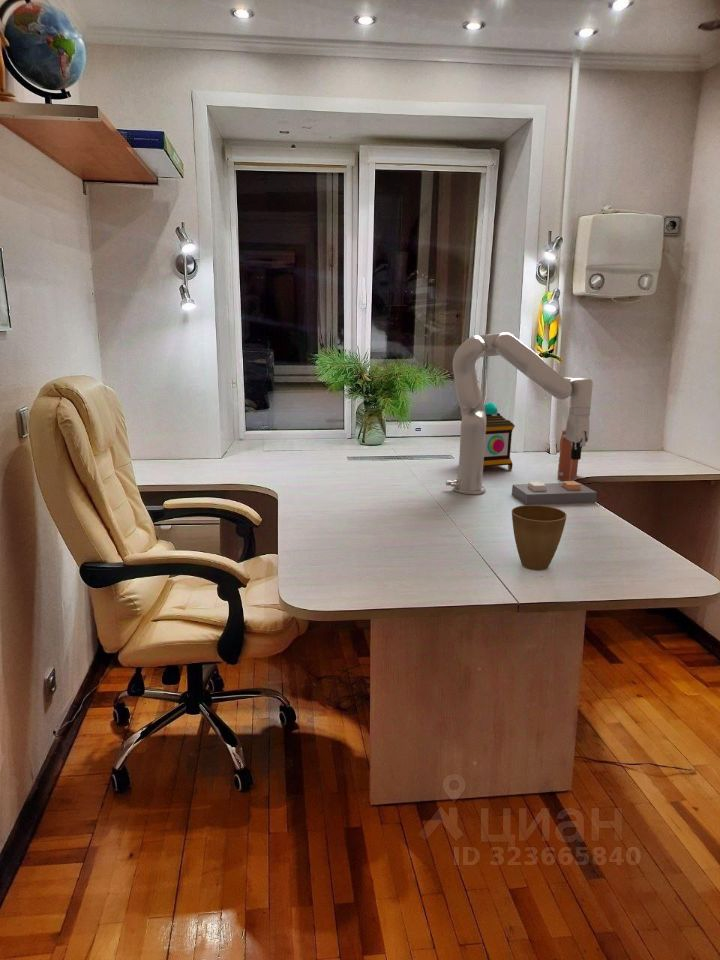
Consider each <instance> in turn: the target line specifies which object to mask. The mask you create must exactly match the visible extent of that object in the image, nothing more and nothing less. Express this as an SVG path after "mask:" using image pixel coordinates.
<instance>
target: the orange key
mask: <svg viewBox="0 0 720 960" xmlns="http://www.w3.org/2000/svg"><path fill="white" fill-rule="evenodd" d="M561 483H562V487H563V488H565V489H566V490H580V487H581V484H582V483H581V484H579V483H580V482H577V481H575V480H570V481H567V480H562V482H561Z"/></svg>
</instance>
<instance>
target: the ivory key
mask: <svg viewBox="0 0 720 960" xmlns="http://www.w3.org/2000/svg"><path fill="white" fill-rule="evenodd" d="M527 484H528V488H529V489H530V490H532V491H546V485H545V484H546V483H543V482H541V481H532V482H531V481H530V482H528V483H527Z"/></svg>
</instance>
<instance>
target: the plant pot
mask: <svg viewBox="0 0 720 960" xmlns="http://www.w3.org/2000/svg"><path fill="white" fill-rule="evenodd" d="M567 516H568V515H567V513H566V511H564V510H562V509H560V508H555V507H552V506H546V505H541V504H537V505H526V504H525V505H519V506H516V507H514V508H512V509H511V519H512V530H513V536H514V541H515V546H516V550H517V553H518V557H519V560H520V563H521V566H522V567H523V568H525V569H528V570H532V571H544V570H547V569H548V568H549V566H550V565H551V562H552V561H553V559H554V557H555V554H556V551H557V550H558V548H559V544H560V542H561V538H562V535H563V533H564V528H565V525H566V521H567Z"/></svg>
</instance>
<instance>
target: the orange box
mask: <svg viewBox="0 0 720 960" xmlns="http://www.w3.org/2000/svg"><path fill="white" fill-rule="evenodd" d="M565 433H566V427H565V428H564V429H562V430H561V436H560V441H559V458H558V465H557V466H558V468H557V476H556V478H557V480H560V481H561V480H562V481H572V479H574V478H575V477H576V476H577V475H578V467H579V465H578V464H579V460H573V459H571V450H572V449H573V448H571V442H570V441H569V440H568V439H566V437H565Z"/></svg>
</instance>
